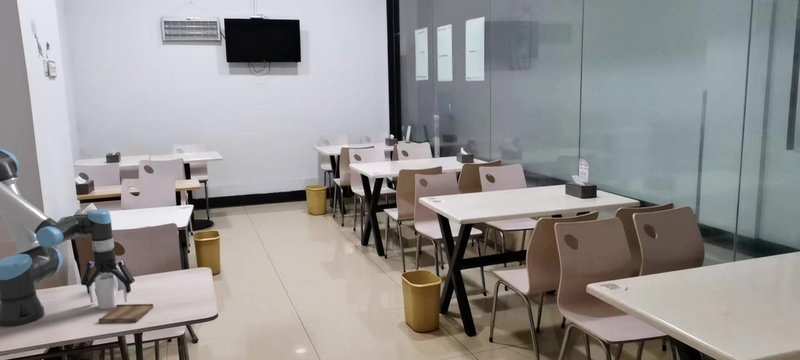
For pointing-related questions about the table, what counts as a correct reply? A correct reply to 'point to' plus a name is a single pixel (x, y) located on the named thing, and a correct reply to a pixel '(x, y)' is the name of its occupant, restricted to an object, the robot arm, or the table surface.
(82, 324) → the table surface
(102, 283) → the mug
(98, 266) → the robot arm
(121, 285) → the toilet tissue
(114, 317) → the wooden coaster
